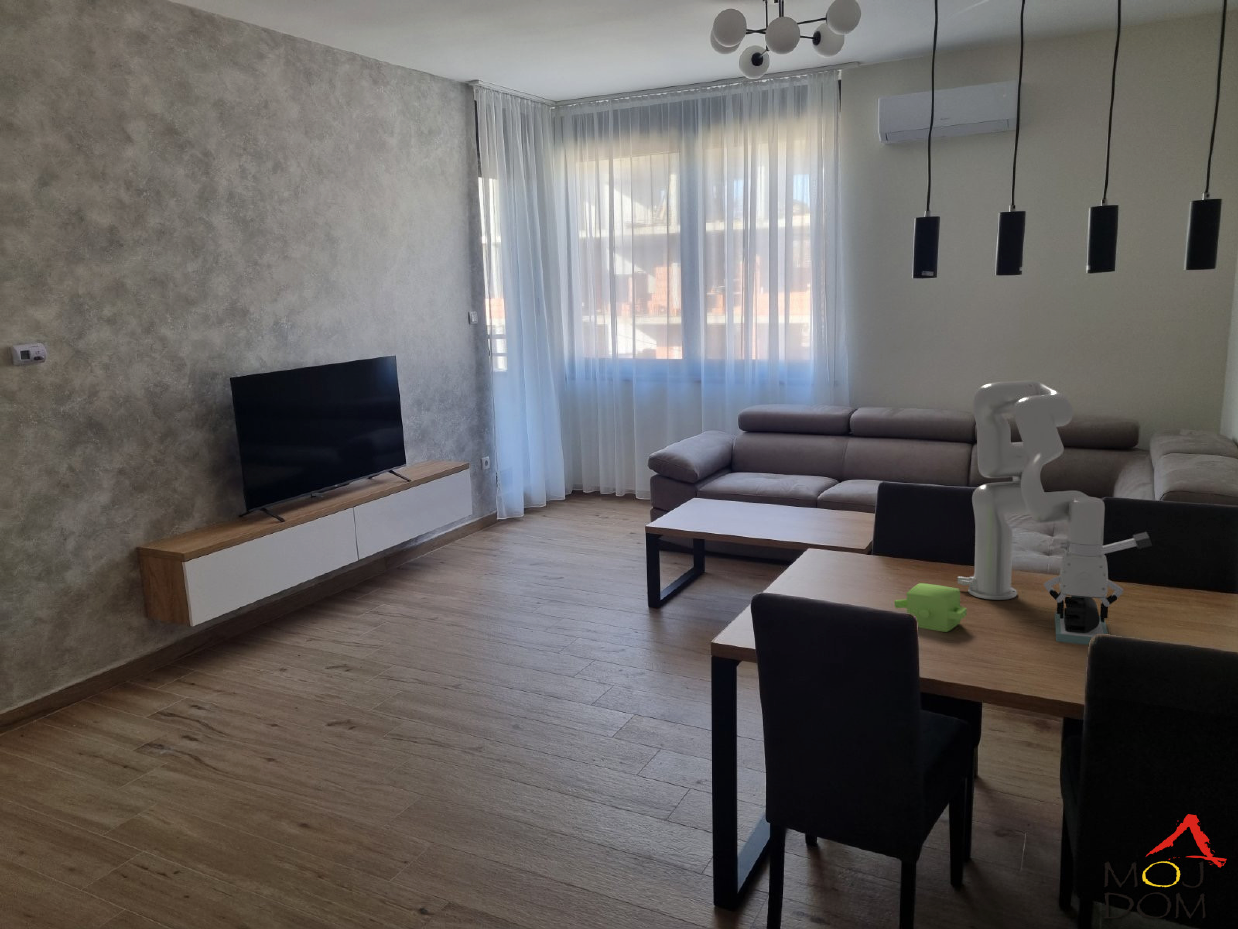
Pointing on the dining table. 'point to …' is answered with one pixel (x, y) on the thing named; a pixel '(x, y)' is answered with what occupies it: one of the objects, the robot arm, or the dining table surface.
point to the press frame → (1073, 636)
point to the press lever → (1129, 543)
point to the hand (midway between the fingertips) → (1081, 618)
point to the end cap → (1080, 614)
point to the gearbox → (934, 606)
